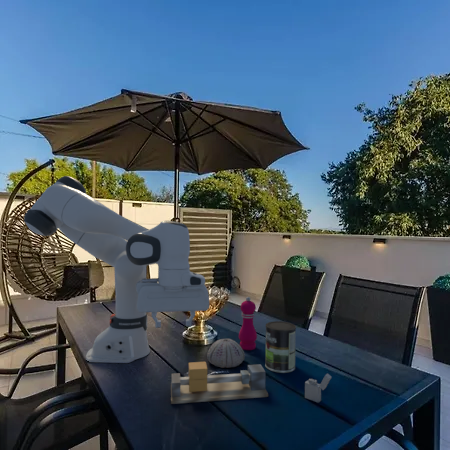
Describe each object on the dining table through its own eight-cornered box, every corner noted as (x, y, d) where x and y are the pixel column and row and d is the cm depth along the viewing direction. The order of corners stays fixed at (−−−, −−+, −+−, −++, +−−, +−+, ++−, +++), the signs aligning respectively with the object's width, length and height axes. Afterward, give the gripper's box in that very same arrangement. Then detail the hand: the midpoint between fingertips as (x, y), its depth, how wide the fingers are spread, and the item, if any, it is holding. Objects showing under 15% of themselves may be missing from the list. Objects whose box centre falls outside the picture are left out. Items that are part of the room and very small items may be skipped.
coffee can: (275, 375, 107) (275, 331, 107) (259, 363, 116) (260, 322, 116) (301, 370, 111) (302, 327, 111) (284, 358, 120) (284, 319, 120)
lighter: (304, 397, 93) (304, 369, 93) (307, 395, 94) (307, 367, 94) (329, 406, 88) (329, 376, 88) (331, 403, 90) (331, 374, 90)
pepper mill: (255, 351, 127) (256, 299, 127) (237, 349, 128) (237, 298, 128) (257, 344, 134) (258, 295, 134) (240, 343, 135) (240, 294, 135)
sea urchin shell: (239, 354, 124) (240, 332, 124) (248, 369, 111) (248, 345, 111) (204, 356, 122) (205, 334, 122) (209, 372, 109) (209, 347, 109)
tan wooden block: (189, 391, 92) (189, 369, 92) (188, 383, 97) (188, 362, 97) (207, 390, 93) (207, 368, 93) (205, 382, 98) (205, 361, 98)
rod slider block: (171, 403, 89) (171, 381, 89) (171, 386, 99) (171, 366, 99) (268, 396, 93) (268, 375, 93) (258, 380, 103) (259, 361, 103)
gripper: (135, 280, 89) (134, 331, 89) (210, 279, 92) (209, 328, 92) (137, 276, 95) (136, 324, 95) (208, 275, 99) (207, 322, 99)
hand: (173, 326), depth 94 cm, fingers open, 7 cm apart
